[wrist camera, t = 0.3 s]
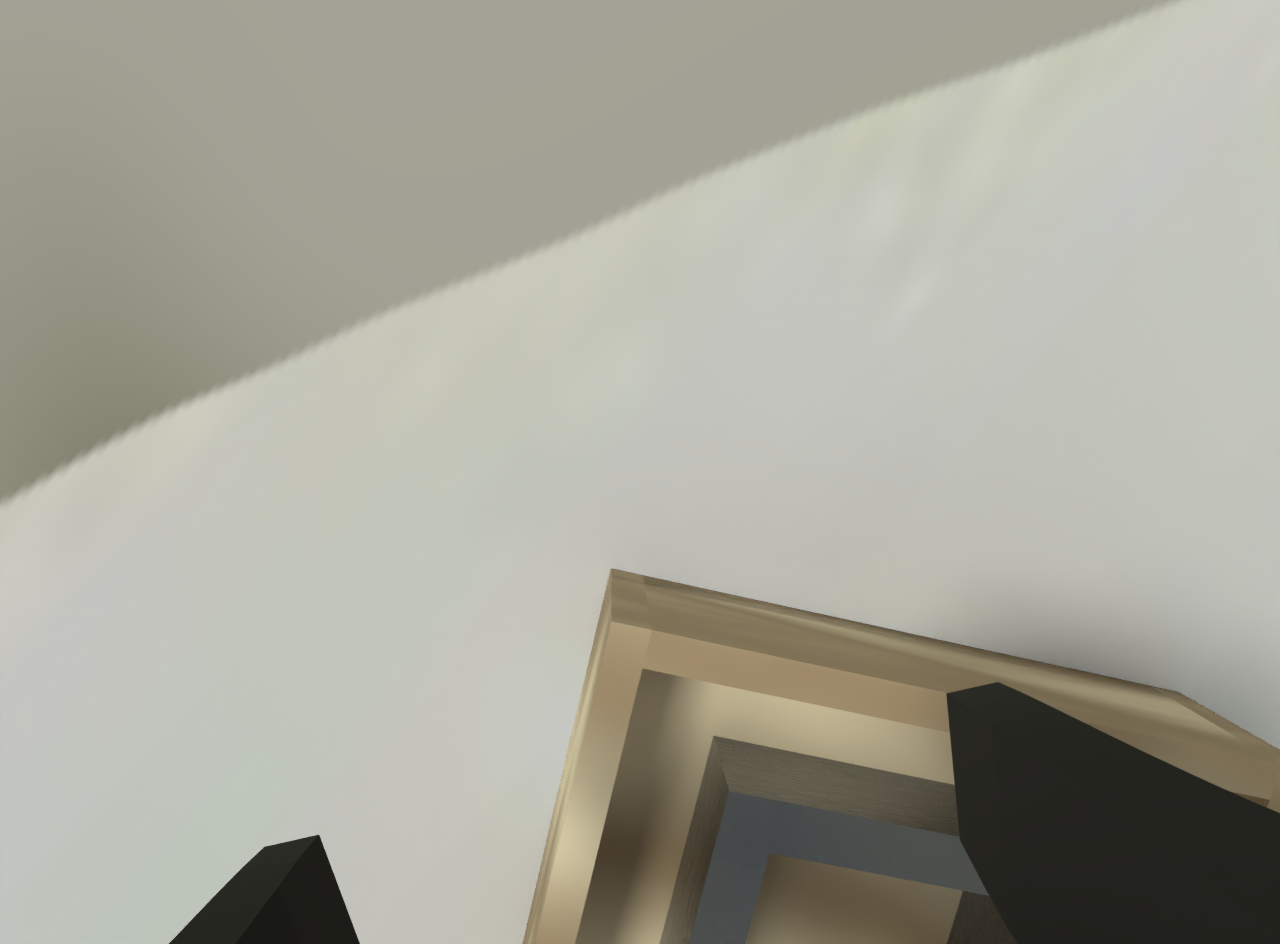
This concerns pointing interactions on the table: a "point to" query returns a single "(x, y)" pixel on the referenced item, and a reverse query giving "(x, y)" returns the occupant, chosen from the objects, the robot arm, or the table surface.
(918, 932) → the oak box
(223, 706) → the table surface
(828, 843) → the frame
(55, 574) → the table surface
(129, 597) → the table surface
